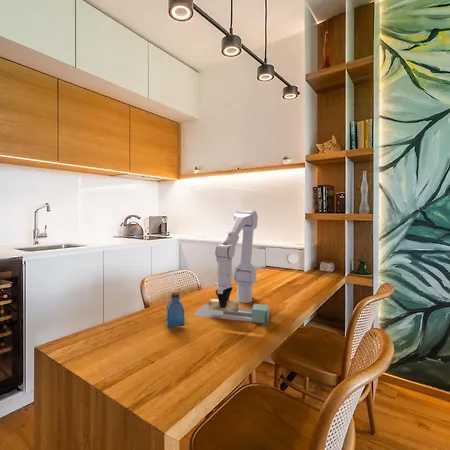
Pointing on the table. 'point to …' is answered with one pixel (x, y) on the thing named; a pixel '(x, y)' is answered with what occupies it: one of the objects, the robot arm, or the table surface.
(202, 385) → the table surface
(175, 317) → the perfume bottle
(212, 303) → the slat
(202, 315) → the board
